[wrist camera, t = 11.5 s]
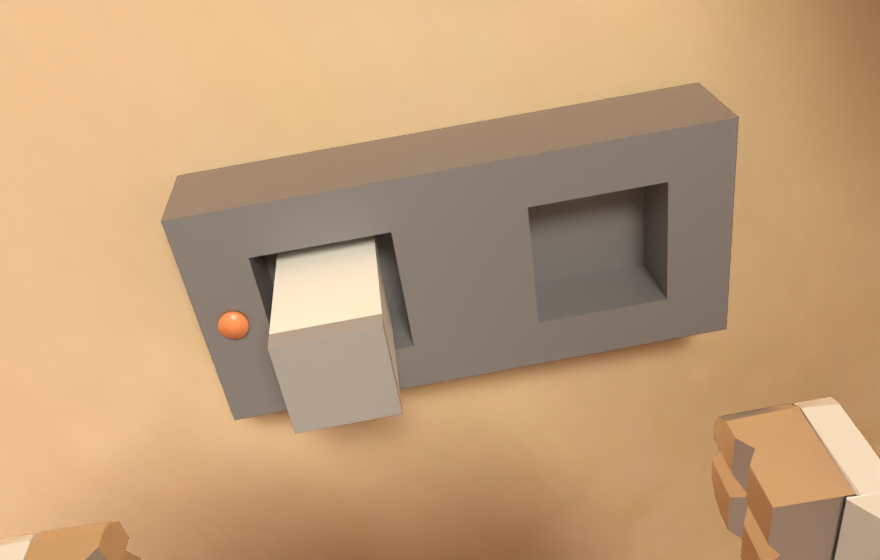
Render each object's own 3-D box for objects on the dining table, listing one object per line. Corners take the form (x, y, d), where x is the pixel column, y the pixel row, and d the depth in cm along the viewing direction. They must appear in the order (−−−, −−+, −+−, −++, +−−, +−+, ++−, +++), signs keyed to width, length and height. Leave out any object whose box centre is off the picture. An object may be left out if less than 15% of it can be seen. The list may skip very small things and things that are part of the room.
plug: (372, 218, 35) (383, 326, 28) (388, 295, 37) (402, 413, 30) (279, 235, 35) (267, 348, 28) (301, 312, 37) (295, 433, 30)
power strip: (698, 82, 35) (742, 119, 31) (692, 281, 40) (729, 332, 36) (177, 175, 34) (159, 224, 30) (242, 364, 39) (234, 424, 36)
